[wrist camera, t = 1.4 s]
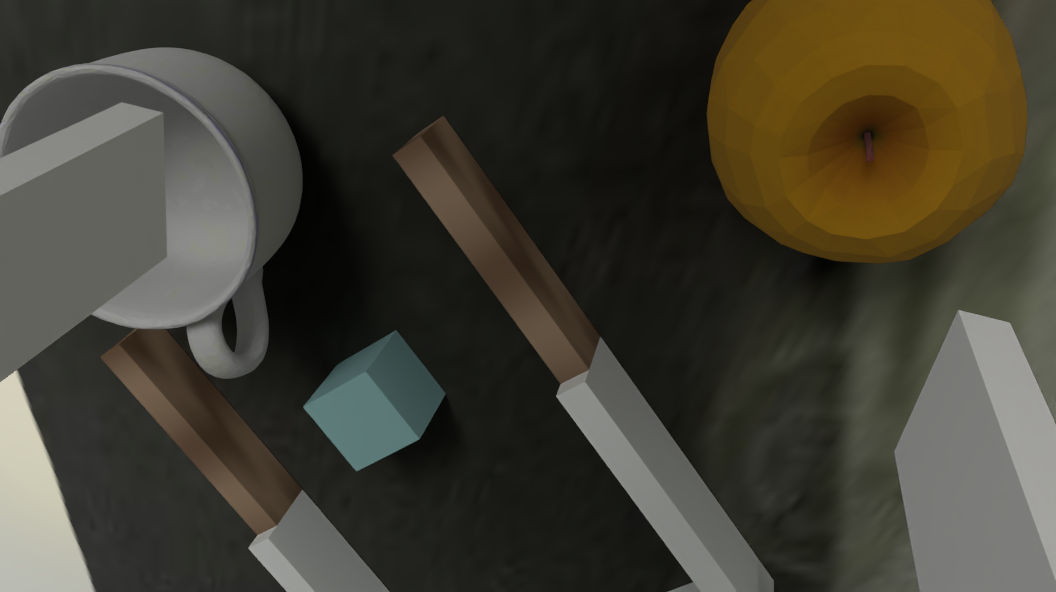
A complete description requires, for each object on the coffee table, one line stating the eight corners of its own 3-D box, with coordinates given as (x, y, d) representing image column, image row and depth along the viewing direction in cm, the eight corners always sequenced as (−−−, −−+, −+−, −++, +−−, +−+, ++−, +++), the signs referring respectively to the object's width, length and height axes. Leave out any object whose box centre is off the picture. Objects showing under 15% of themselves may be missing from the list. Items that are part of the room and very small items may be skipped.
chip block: (337, 363, 47) (303, 407, 44) (396, 329, 45) (365, 371, 42) (386, 424, 48) (356, 471, 45) (446, 392, 46) (419, 439, 43)
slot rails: (136, 328, 49) (100, 357, 46) (443, 115, 40) (420, 136, 37) (283, 499, 52) (257, 535, 49) (600, 336, 43) (589, 369, 40)
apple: (1048, 62, 34) (1166, 165, 24) (837, 239, 39) (860, 390, 28) (855, -132, 33) (893, -111, 22) (661, 75, 37) (619, 171, 27)
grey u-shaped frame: (283, 499, 52) (248, 548, 48) (600, 336, 43) (585, 381, 39) (450, 693, 56) (429, 751, 52) (773, 580, 47) (773, 641, 43)
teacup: (80, 44, 42) (-56, 88, 36) (296, 7, 39) (193, 47, 32) (182, 321, 48) (82, 406, 41) (378, 307, 45) (305, 396, 38)
